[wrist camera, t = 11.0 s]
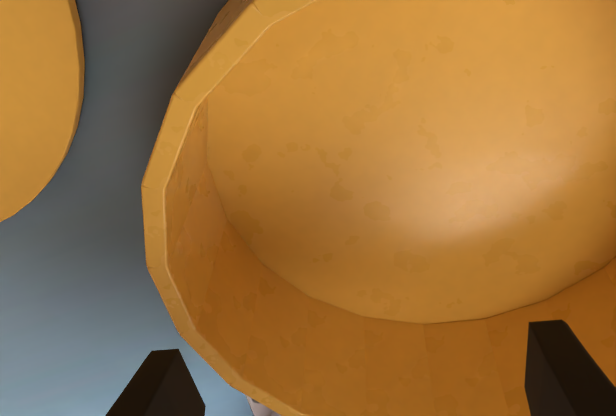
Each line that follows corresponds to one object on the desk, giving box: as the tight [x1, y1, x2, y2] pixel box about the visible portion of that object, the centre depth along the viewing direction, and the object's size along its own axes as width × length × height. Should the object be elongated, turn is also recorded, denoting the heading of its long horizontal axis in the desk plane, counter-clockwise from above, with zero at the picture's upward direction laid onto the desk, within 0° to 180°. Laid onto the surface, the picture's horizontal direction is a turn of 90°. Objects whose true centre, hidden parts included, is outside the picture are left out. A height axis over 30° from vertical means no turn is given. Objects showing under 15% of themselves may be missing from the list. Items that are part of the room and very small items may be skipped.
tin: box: [141, 0, 616, 416], centre depth 17 cm, size 17×17×6 cm
